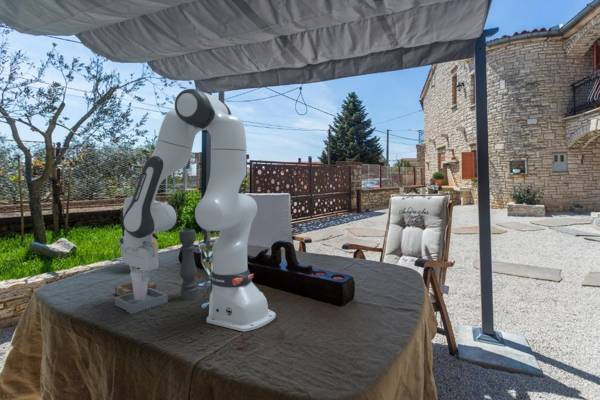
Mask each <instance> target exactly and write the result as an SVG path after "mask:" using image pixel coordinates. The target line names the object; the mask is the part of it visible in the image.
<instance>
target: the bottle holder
mask: <svg viewBox="0 0 600 400" xmlns="http://www.w3.org/2000/svg"><path fill="white" fill-rule="evenodd" d="M147 288H152V289H155V290H157V284H156V283H154V282H151V281H148V286H147ZM129 293H133V285H132V281H131V282H128V283H124V284H123V283H122V284H120V285H115V286H114V294H115V295H116V294H117V295H116V296H118V295H119V296H122V295H126V294H129Z"/></svg>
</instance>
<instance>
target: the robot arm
mask: <svg viewBox="0 0 600 400" xmlns="http://www.w3.org/2000/svg"><path fill="white" fill-rule="evenodd" d="M200 132H203V133H208V134H209V136H210V173H209V180H208V183H207V187H206V190H205V191H204V195H203V197H202V198H201V200H200V201H199V202H198V203H197V205H196V207H195V209H194V210H195V211H194V217H195V221H196V223H197V224H198V226H199V227H200V228H201V229H203V230H205V231H210V232H211V231H212V232H219V233H218V237H217V239H216V241H215V242H214V243H213V246H212V249H211V253H212V271H211V275H210V278H211V284H212V288H211V291H210V294H209V307H208V316H207V317H206V323H207V324H212V325H215V326H219V327H224V328H227V329H231V330H236V331H240V332H250V331H252V330H257V329H260V328H262V327H264V326H266V325H268V324H270V323H271V322H272V321H273V320H275V319H276V317H277V316H276V315H277V314H276V312H275V311H273V310H271V309H269V304H268V300H267V298H266V296H265V295H264V294H265V293H264V292H262V291H261V290H259V288H258V287H257V286H256V285H255V284H254V282H253V281H252V280H253V278H254V275H255V274H254V273H250V269H249V268H248V245H249V244H248V243H249V238H250V232H251V229H252V224H253V221H254V219H255V217H256V216H257V213H258V203H257V202H256V200H255V198H253V196H250V195H249V194H248V195H247V194H244V193H239V191H240V189H241V186H242V182H243V181H244V180H245V178H246V175H247V136H246V128H245V125H244V122H243V120H242V119H241V118H240V117H239V116H237V115H233V114H232V111H231V109H230V108H229V106H228V105H227V104H226V103H225V102H224V101H222V100H220V99H218V98H216V97H215V95H212V94H209V93H207V92H204V91H202V90H200V89H197V88H186V89H183V90H182V91H180V92H179V93H178V94H177V95H176V98H175V100H174V109H171V110H168V111H167V112H166V114H165V116H164V118H163V120H162V122H161V126H160V129H159V132H158V135H157V140H156V145H155V146H154V150H153V152H152V154H151V155H150V157H149V158H148V159H147V160H146V161H145V163H144V166H143V168H142V171H141V173H140V175H139V179H138V181H137V185H136V187H135V190H134V192H133V194H131V195H128V196H127V197H126V198H125V199H124V202H123V208H122V210H123V211H122V212H123V226H124V228H125V230H124V236H123V237H122V236H121V237H119V238H118V242H119V243H118V244H119V245H120V244H121V254H120V257H121V260H122V263H123V264H126V265H127V264H129V265H130V266H129V270H130V269H131V271H133V270H137V267H138V268H141V269H143V272H144V274H143V276H142V280H143V281H148V282H150V275H151V272H152V271H156V270H158V269H159V266H160V265H159V255H158V253H157V250H156V248H155V247H154V246H153V238H152V234H155V235H156V234H158V233H162V232H166V231H169V230H171V229H172V228H173V227H175V226H176V224H177V219H178V215H177V212H176V209H175V208H174V207H173V206H172V205H170V204H168V203H164V202H161V201H158V200H156V198H157V197H156V196H157V194H158V190H159V188H160V185H161V183H162V182H163V181H164V180H165V179H166V178H167V177H169V176H170V175H172V174H174V173H176V172H178V171H181V170H182V169H184V168H185V167H186V166H187V165H188V163H189V161H190V160H191V156H192V151H193V147H194V143H195V142H194V141H195V138H196V136H197V134H198V133H200ZM131 271H130V272H131Z"/></svg>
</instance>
